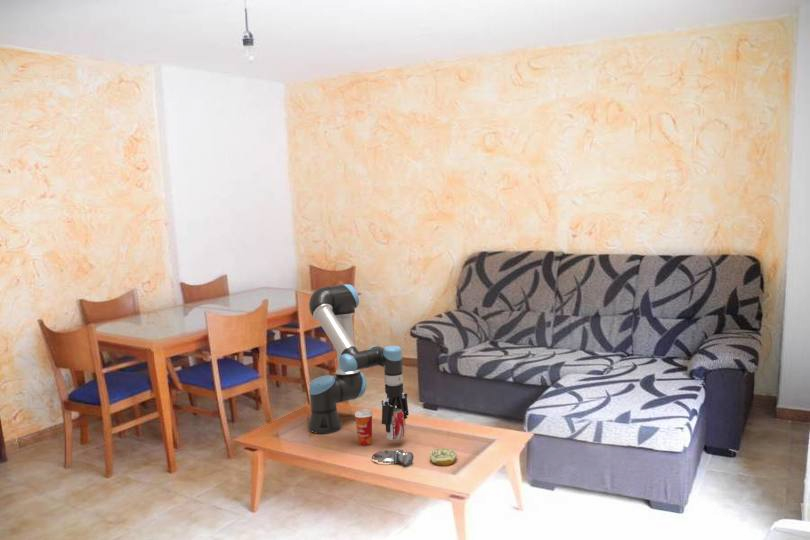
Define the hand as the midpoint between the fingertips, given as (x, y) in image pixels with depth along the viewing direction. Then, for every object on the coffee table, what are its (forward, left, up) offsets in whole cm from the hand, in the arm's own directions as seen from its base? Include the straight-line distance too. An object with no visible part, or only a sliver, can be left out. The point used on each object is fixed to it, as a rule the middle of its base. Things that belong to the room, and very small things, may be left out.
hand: (396, 436), depth 274 cm
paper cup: (-12, -6, -4) cm, 14 cm away
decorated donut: (+27, -2, -4) cm, 27 cm away
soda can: (0, 0, -1) cm, 1 cm away
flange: (+7, -13, -4) cm, 15 cm away
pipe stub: (+16, -13, -4) cm, 21 cm away
